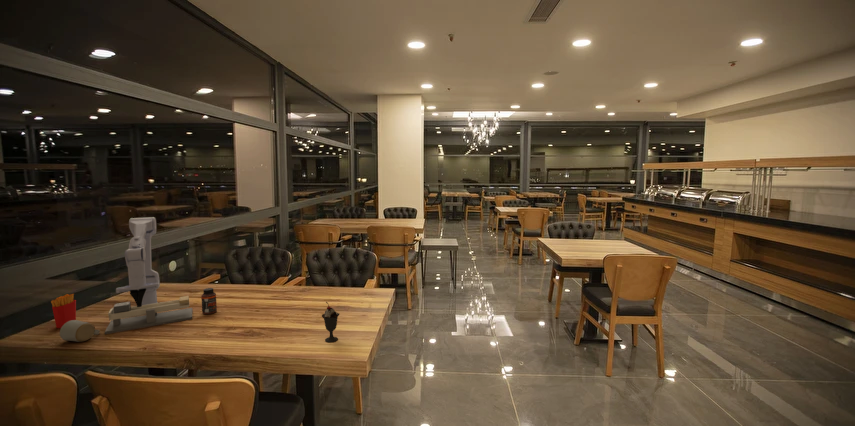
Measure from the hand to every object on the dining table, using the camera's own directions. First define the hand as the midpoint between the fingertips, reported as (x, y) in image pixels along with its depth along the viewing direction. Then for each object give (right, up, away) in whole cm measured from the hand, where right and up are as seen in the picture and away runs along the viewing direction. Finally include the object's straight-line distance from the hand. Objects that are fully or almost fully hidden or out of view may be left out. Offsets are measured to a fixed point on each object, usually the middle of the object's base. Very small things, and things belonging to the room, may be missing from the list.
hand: (139, 306), depth 161 cm
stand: (+3, -7, +3) cm, 8 cm away
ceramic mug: (-11, -9, -15) cm, 21 cm away
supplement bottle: (+23, -6, +13) cm, 27 cm away
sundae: (+87, -9, -16) cm, 90 cm away
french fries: (-30, -8, -2) cm, 31 cm away
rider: (-5, -2, -3) cm, 6 cm away
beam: (+3, -3, +2) cm, 5 cm away
